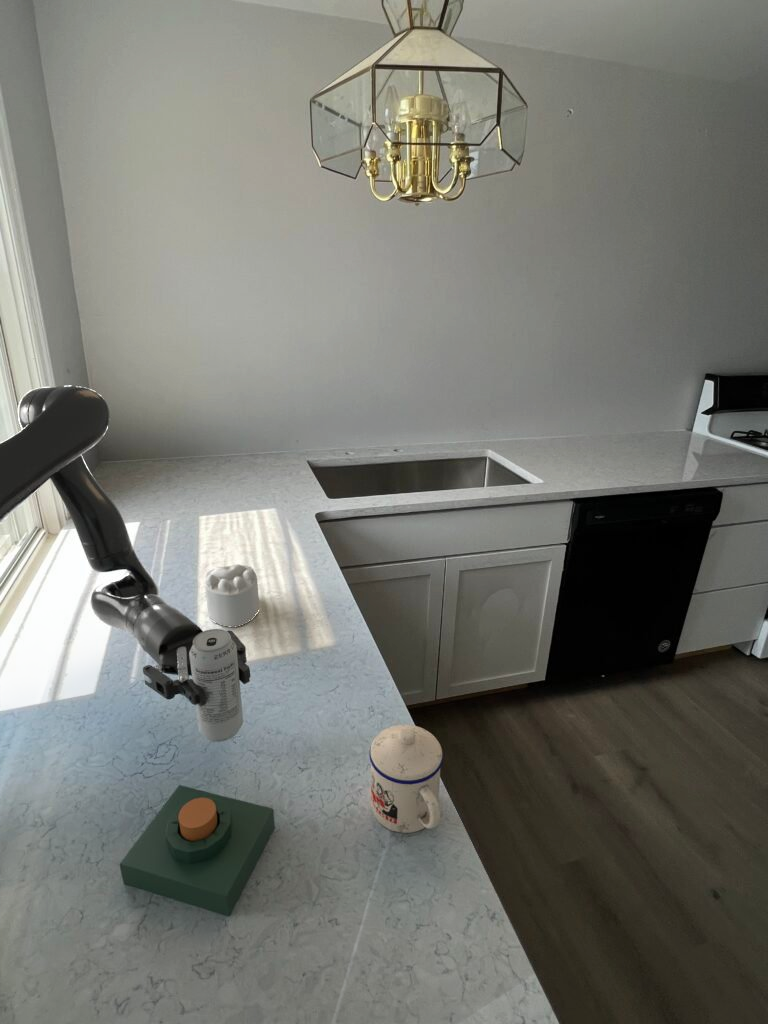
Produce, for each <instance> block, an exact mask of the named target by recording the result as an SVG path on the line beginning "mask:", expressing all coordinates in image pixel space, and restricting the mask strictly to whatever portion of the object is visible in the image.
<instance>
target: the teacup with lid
mask: <svg viewBox="0 0 768 1024" xmlns="http://www.w3.org/2000/svg"><path fill="white" fill-rule="evenodd" d="M368 754H369V760H370V807H371V811H372V814H373V815H374V817H375V819H376V820H377V821H378V822H379V824H381V825H382V827H385V828H387V829H388V830H390V831H393V832H397V833H403V834H410V833H415V832H419V831H421V830H424V829H425V828H426V829H428V830H429V829H430V830H431V829H434V828H436V827H437V826H438V825H439V824H440V821H441V809H440V806H439V796H440V781H441V767H442V765H443V762H444V753H443V749H442V746H441V744H440V742H439V740H438V739H437V738H436V736H434V734H432V733H431V732H430V731H428V730H427V729H425V728H422V727H420V726H417V725H412V724H397V725H396V724H395V725H392V726H389V727H387V728H384V729H383V730H382V731H380V732H379V733H378V734H377V735H376V736H375V738H374V739H373V741H372V743H371V745H370V747H369V752H368Z"/></svg>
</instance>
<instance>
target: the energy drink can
mask: <svg viewBox="0 0 768 1024" xmlns="http://www.w3.org/2000/svg"><path fill="white" fill-rule="evenodd" d="M227 631H228V630H226V629H221V628H213V629H212V628H211V629H207V630H203V632H201V633H200V634H198V635H197V636H196V637H195V638H194V640H193V646H192V648H191V650H190V652H189V656H190V664H191V672H192V676H191V679H192V680H193V681H194V683H195V684H197V685H198V686H199V687H200V688H201V689H202V690H203V691H204V692H205V697H206V704H205V705H203V706H201V707H200V706H199V705H198V704H197V705H195V709H196V718H197V726H198V731H199V734H200V735H201V736H203V737H204V738H205V739H206V740H208V741H210V742H214V743H221V742H225V741H228V740H230V739H232V738H234V737H235V736H236V735H237V734H238V732H239V731H240V729H241V728H242V726H243V723H244V717H243V716H244V715H243V705H242V692H241V683H240V682H241V681H240V680H239V670H238V659H237V647H236V644H235V642H234V641H233V640H232V639H231V635H230V634H229V632H227Z"/></svg>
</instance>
